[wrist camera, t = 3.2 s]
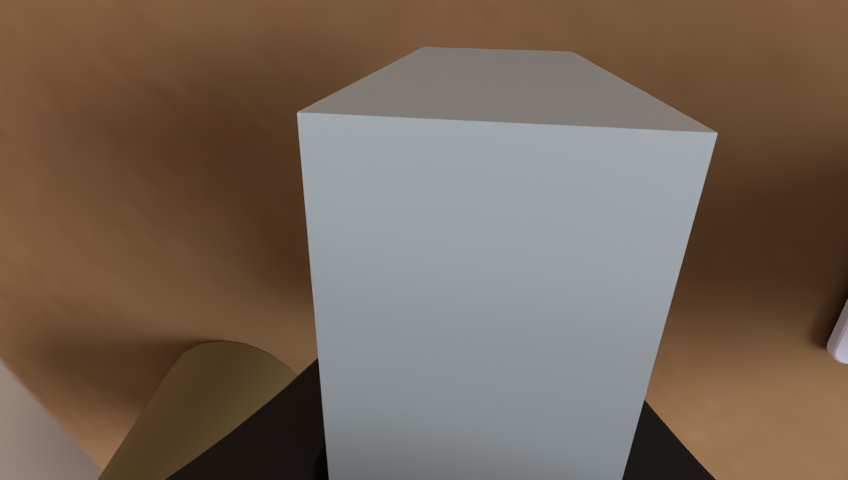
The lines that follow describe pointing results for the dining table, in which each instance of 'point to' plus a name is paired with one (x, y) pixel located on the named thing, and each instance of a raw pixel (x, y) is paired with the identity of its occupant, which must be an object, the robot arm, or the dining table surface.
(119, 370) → the dining table surface
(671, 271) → the pale blue rectangular brick
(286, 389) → the robot arm
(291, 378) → the cork
